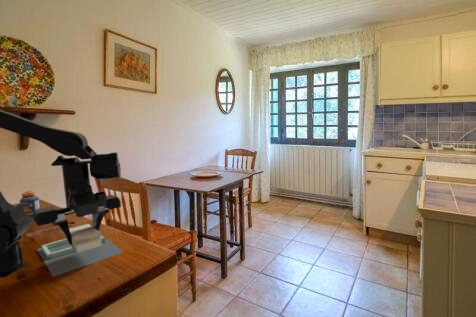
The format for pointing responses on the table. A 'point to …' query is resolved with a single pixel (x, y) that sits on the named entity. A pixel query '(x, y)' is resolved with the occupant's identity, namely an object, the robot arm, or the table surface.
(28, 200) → the pill bottle
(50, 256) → the tray frame
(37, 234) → the key
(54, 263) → the mat
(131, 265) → the table surface
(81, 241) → the card box
